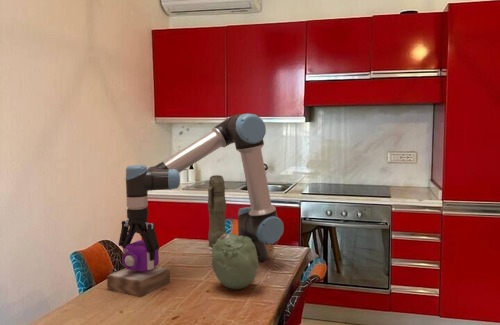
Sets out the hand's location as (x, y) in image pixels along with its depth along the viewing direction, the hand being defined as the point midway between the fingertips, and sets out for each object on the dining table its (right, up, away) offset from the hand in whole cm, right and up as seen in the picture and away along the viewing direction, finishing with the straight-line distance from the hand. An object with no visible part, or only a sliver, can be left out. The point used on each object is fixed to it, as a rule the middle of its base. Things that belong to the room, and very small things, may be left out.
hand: (139, 266), depth 162 cm
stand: (0, -7, 0) cm, 7 cm away
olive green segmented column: (+25, -3, +56) cm, 62 cm away
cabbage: (+36, -7, -2) cm, 36 cm away
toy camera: (0, -1, 0) cm, 1 cm away
